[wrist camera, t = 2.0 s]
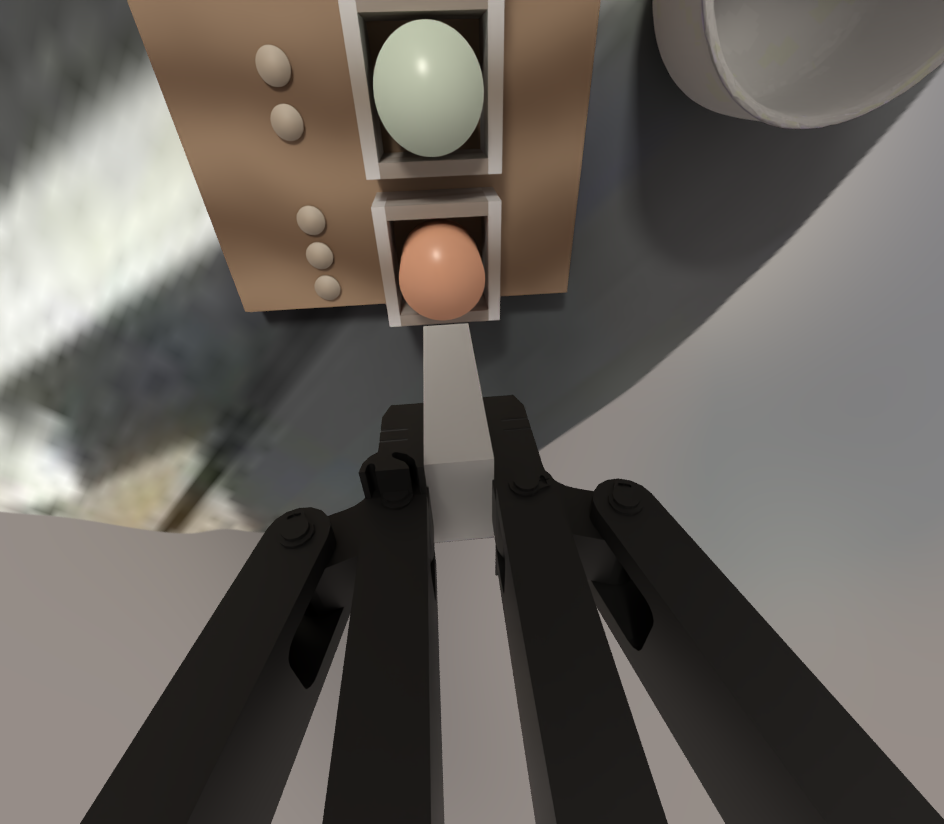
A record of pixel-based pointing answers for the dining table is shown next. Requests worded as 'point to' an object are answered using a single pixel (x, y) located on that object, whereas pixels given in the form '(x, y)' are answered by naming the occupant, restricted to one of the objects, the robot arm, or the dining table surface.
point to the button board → (373, 143)
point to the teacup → (798, 55)
